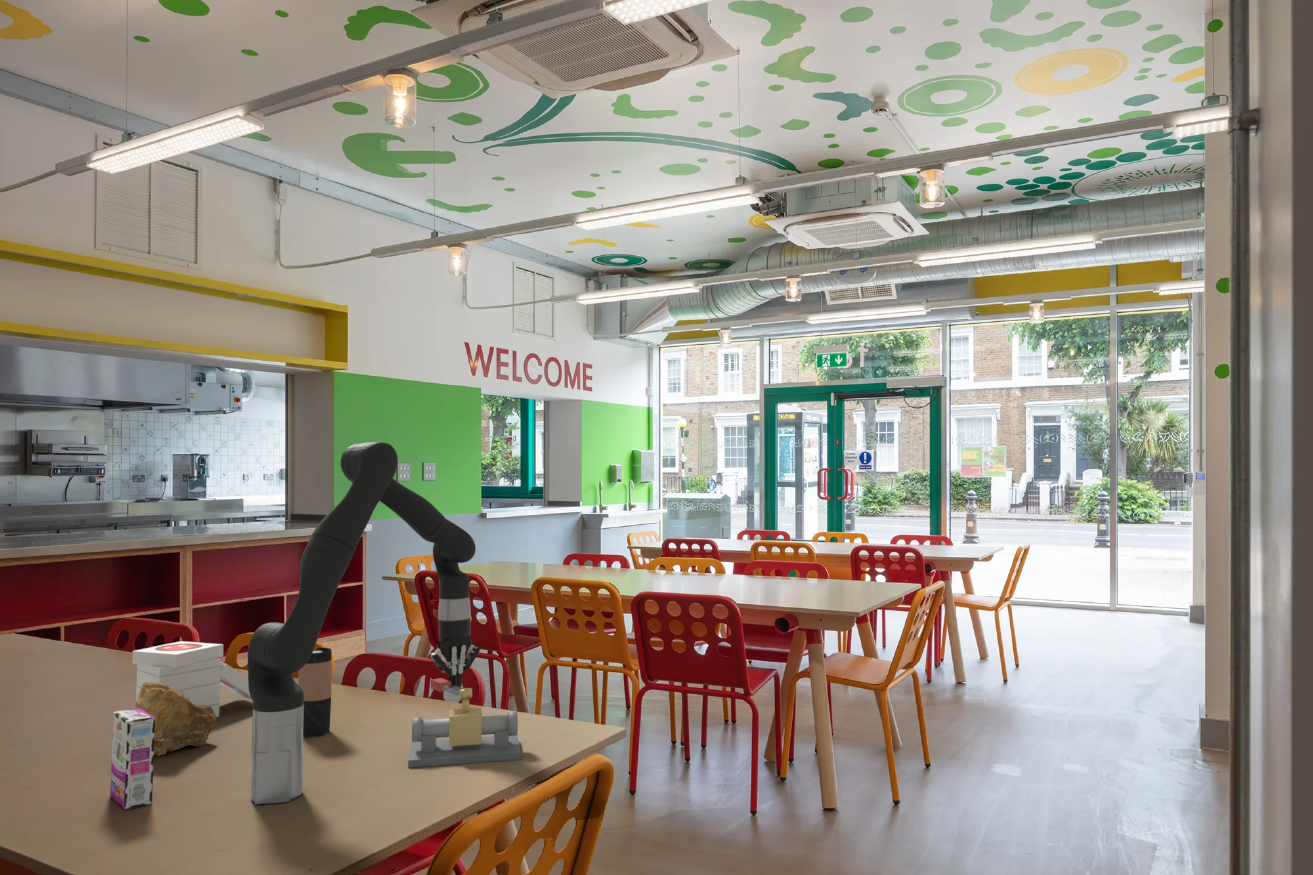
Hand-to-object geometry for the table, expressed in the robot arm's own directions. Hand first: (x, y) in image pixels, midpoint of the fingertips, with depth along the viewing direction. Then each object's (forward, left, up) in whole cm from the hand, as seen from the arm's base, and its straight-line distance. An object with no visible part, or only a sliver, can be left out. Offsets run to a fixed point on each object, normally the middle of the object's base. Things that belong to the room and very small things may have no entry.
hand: (455, 689), depth 209 cm
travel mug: (+13, +34, -12) cm, 38 cm away
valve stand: (-12, -2, -12) cm, 17 cm away
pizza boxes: (+40, +67, -12) cm, 79 cm away
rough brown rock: (+9, +64, -12) cm, 65 cm away
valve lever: (-6, +1, +1) cm, 6 cm away
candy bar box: (-27, +61, -12) cm, 67 cm away
